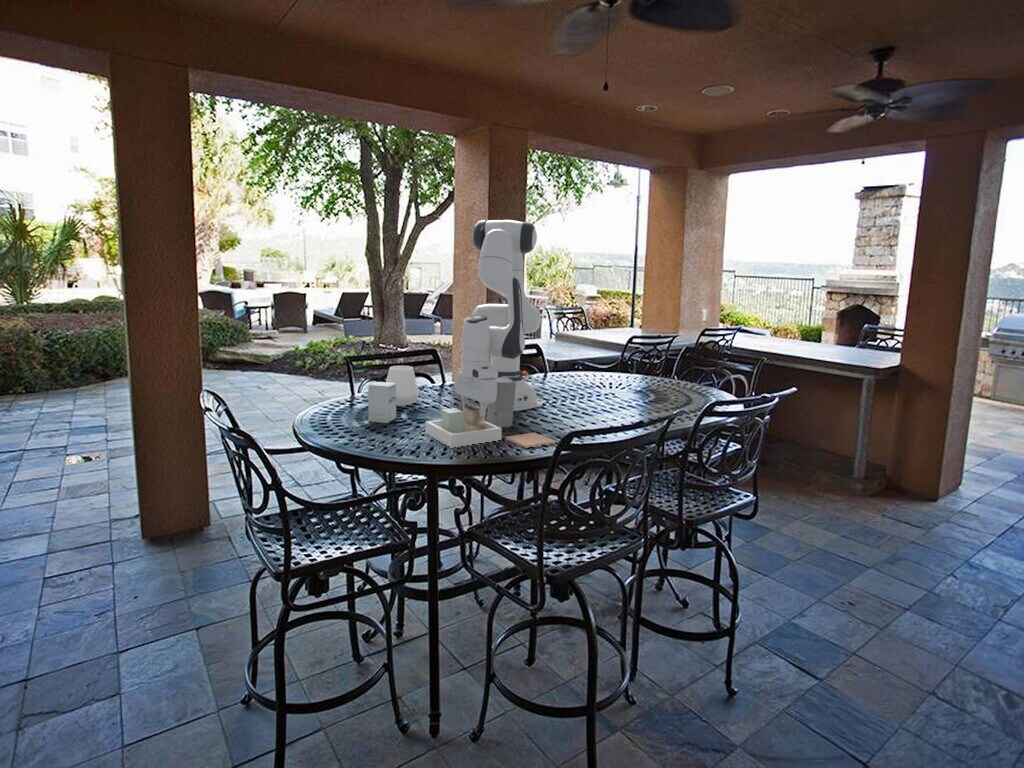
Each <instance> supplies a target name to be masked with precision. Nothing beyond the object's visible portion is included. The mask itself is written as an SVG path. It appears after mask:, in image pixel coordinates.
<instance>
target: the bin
mask: <svg viewBox="0 0 1024 768" xmlns="http://www.w3.org/2000/svg"><path fill="white" fill-rule="evenodd" d="M424 422H425V428H424V429H425V431H424V432H425V433H426V434H428V435H429V436H428V435H427V436H428V437H430V436H431V437H430V438H432V437H433V438H432V439H434V438H435V439H436V441H437V440H438V441H437V442H439V441H440V442H439V443H441V442H442V443H441V444H443V445H444V444H445V445H444V446H446V445H447V447H448V446H449V447H448V448H450V449H453V448H454V447H456V448H462V447H461V446H463V447H467V446H466V445H469V446H473V445H472V444H476V445H479V444H478V443H483V444H486V443H485V442H490V443H493V442H492V441H496V442H499V441H498V440H501V441H502V434H503V433H502V430H503V429H502V428H503V427H498V426H495V425H493V424H491V423H489V422H487V420H485V423H484V429H483V430H476V431H468V432H461V433H454V434H453V433H451V432H449V431H447V430H445V429H443V428H441V419H435V420H429V421H428V420H427V421H424ZM426 434H425V435H426ZM435 439H434V440H435ZM454 449H455V448H454Z"/></svg>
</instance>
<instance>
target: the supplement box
mask: <svg viewBox="0 0 1024 768" xmlns="http://www.w3.org/2000/svg"><path fill="white" fill-rule="evenodd" d="M367 390H368V391H367V393H368V396H367V397H368V403H367V404H368V407H367V408H368V409H367V410H368V411H367V412H368V416H367V417H368V422H370V421H371V422H372V423H381V424H382V423H383V424H389V423H390V422H392V421H394V420H396V419H397V406H396V383H390V382H385V381H376V382H373V383H372V384H368V386H367Z"/></svg>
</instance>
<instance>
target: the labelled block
mask: <svg viewBox="0 0 1024 768" xmlns="http://www.w3.org/2000/svg"><path fill="white" fill-rule="evenodd" d="M480 407H481V406H479V405H470V406H466V407H463V406H462V411H464V426H463V432H468V431H476V430H483V429H484V423H485V421H486V420H485V417H486V415H485V416H479V415H478V410H480Z"/></svg>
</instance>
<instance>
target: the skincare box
mask: <svg viewBox="0 0 1024 768" xmlns="http://www.w3.org/2000/svg"><path fill="white" fill-rule="evenodd" d="M495 379H496V381H497V398H496V401H495V403H491V404H488V407H487V416H486V422H489V423H491V424H493V425H495V426H498V427H500V428H512V427H513V420H514V411H513V410H514V399H515V389H516V382H514V381H512V380H511V379H509V378H507V377H497V378H495ZM511 426H512V427H511Z"/></svg>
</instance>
